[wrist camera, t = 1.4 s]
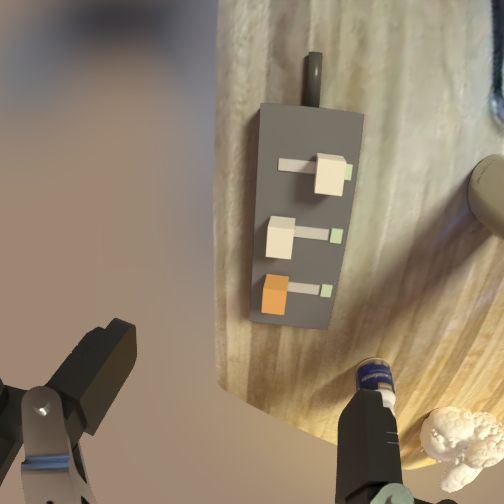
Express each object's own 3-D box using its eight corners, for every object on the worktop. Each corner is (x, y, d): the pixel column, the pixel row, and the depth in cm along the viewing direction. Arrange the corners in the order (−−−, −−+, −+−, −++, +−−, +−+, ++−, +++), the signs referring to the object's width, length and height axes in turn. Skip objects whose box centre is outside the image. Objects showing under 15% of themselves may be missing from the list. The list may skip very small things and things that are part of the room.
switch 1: (269, 243, 35) (265, 256, 32) (271, 215, 33) (267, 226, 30) (292, 246, 34) (290, 259, 32) (295, 218, 33) (294, 229, 30)
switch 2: (264, 297, 38) (261, 312, 35) (266, 273, 36) (263, 288, 34) (286, 299, 38) (283, 315, 35) (288, 276, 36) (287, 291, 33)
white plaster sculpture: (418, 440, 41) (507, 473, 29) (450, 364, 53) (525, 391, 41) (389, 477, 50) (461, 505, 38) (424, 412, 63) (487, 437, 51)
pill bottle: (390, 353, 44) (400, 403, 35) (389, 376, 46) (397, 425, 38) (353, 358, 46) (358, 410, 37) (355, 381, 48) (358, 431, 39)
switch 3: (313, 184, 31) (314, 193, 28) (317, 152, 29) (318, 158, 27) (338, 187, 31) (341, 196, 28) (342, 156, 29) (346, 161, 26)
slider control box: (267, 50, 29) (263, 44, 26) (362, 60, 28) (368, 55, 24) (253, 304, 44) (249, 321, 40) (326, 313, 42) (327, 331, 39)
